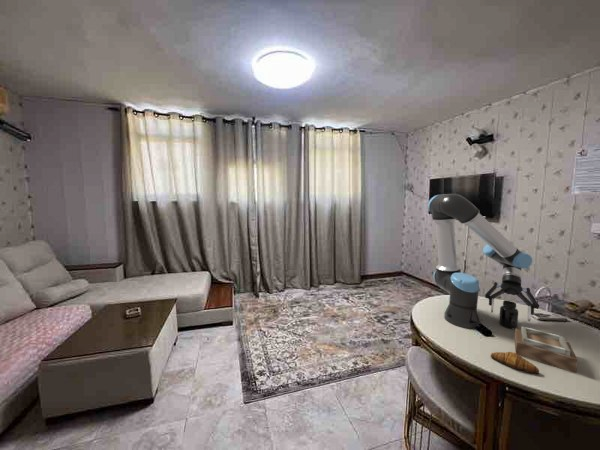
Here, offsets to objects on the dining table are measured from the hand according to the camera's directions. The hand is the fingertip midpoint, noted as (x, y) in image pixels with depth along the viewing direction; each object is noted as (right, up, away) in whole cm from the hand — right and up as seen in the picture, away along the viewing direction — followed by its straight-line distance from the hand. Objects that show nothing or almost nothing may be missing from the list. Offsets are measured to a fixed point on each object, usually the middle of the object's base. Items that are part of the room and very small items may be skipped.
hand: (509, 315), depth 116 cm
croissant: (-22, -9, -27) cm, 36 cm away
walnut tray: (-5, -8, -20) cm, 22 cm away
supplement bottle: (0, -6, +2) cm, 6 cm away
